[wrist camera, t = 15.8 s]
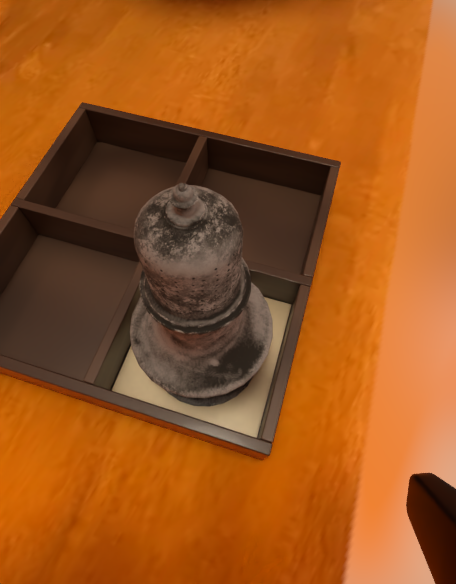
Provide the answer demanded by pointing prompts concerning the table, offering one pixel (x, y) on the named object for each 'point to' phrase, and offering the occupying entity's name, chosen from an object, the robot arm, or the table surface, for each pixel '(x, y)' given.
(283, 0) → the table surface
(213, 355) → the chess piece
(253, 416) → the grid
